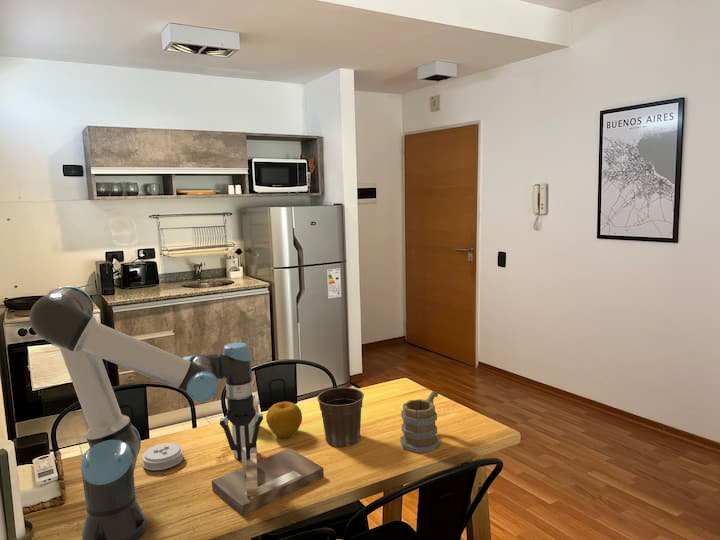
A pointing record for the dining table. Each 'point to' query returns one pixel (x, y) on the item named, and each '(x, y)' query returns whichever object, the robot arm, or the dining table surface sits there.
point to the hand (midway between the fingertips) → (244, 469)
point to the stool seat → (268, 480)
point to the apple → (284, 419)
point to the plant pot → (341, 415)
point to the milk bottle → (242, 434)
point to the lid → (162, 456)
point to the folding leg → (251, 476)
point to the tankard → (419, 425)
